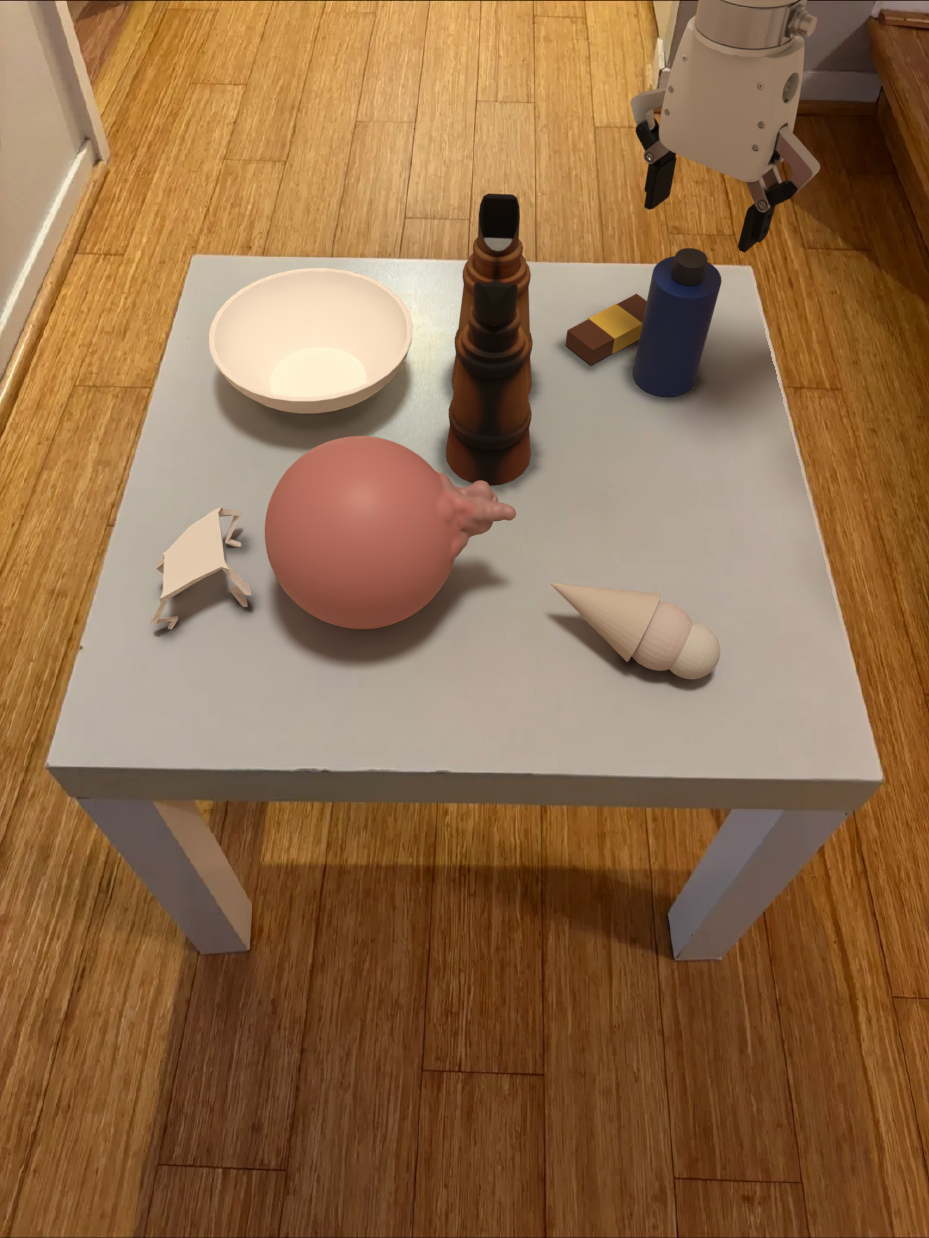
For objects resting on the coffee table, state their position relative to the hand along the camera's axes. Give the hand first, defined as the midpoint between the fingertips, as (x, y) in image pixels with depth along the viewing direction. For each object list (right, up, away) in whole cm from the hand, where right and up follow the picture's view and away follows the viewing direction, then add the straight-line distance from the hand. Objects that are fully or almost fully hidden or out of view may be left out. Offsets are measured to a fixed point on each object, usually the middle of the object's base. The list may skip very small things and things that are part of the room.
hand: (702, 223), depth 86 cm
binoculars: (-18, -15, +11) cm, 26 cm away
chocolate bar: (-5, -5, +18) cm, 19 cm away
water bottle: (0, -10, +15) cm, 18 cm away
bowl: (-36, -11, +13) cm, 40 cm away
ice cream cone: (-7, -37, -4) cm, 38 cm away
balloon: (-27, -33, -1) cm, 42 cm away
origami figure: (-43, -32, -1) cm, 53 cm away
